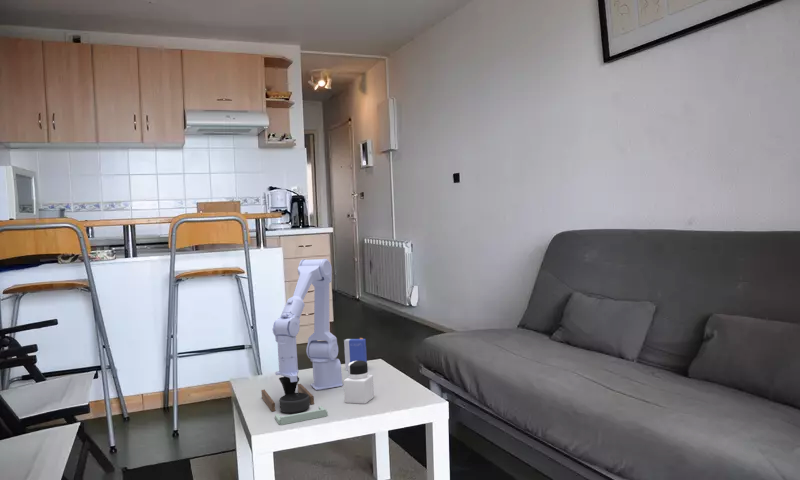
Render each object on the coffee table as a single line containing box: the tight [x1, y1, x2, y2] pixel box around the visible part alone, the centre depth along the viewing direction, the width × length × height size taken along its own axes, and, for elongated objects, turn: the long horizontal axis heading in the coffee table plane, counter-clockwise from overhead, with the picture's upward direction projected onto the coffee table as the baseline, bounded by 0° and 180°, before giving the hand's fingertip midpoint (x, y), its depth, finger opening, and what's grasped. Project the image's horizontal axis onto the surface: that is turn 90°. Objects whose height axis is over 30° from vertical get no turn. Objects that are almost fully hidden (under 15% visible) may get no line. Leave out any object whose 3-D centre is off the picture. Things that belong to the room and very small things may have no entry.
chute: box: [260, 383, 315, 412], centre depth 179 cm, size 13×17×2 cm
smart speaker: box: [278, 392, 311, 414], centre depth 170 cm, size 9×9×4 cm
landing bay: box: [274, 405, 329, 426], centre depth 162 cm, size 14×6×2 cm, turn 114°
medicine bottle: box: [343, 361, 375, 404], centre depth 176 cm, size 7×7×12 cm
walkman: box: [343, 337, 368, 372], centre depth 214 cm, size 8×3×12 cm, turn 77°
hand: (290, 400), depth 175 cm, fingers closed
